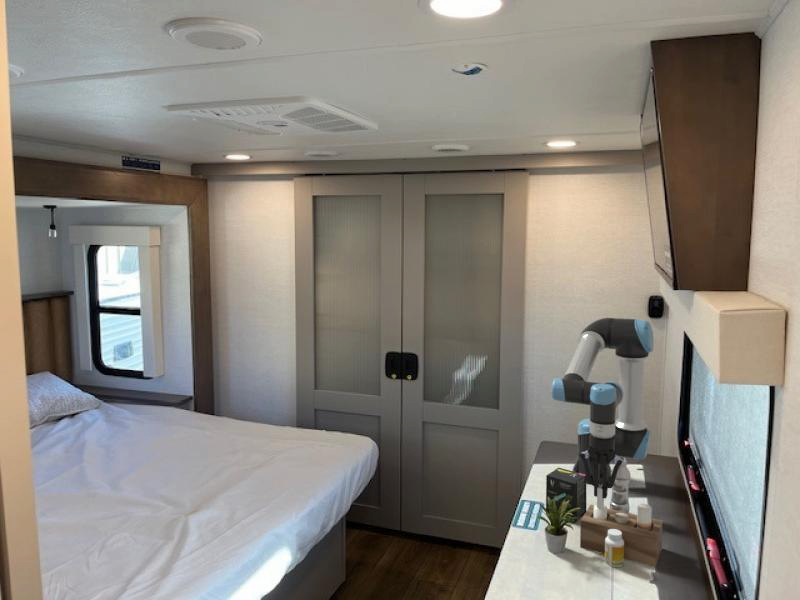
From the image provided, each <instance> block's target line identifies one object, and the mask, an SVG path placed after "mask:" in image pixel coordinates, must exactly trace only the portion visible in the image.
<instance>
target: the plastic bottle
mask: <svg viewBox="0 0 800 600" xmlns="http://www.w3.org/2000/svg"><path fill="white" fill-rule="evenodd" d="M618 457H619V456H618ZM619 458H623V460H624V461H623V462H622V464H621V465H620V466H619V470H618V473H617V476H616V479H615V483H614V485H613V487H612V488H611V491H612V492H611V498H610V502H609V509H612V510H617V511H621V512H626V513H630V508H631V507H630V502H629V487H630V481H631V475H632V474H631V472H630V470H629V468H628V467H627V466H628V462H627V460H628V458H624V457H619ZM613 469H614V467H613V468H611V470H612V471H611V475H612V472H613Z"/></svg>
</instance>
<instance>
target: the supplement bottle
mask: <svg viewBox="0 0 800 600" xmlns="http://www.w3.org/2000/svg"><path fill="white" fill-rule="evenodd" d="M624 561H625V559H624V540H623V539H622V532H621V531H620V530H617V529H609V530H608V536H607V537H606V538H605V554H604V562H605V564H606V565H607V566H609V567H613V568H619V567H622V566H623V565H624Z"/></svg>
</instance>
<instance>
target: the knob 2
mask: <svg viewBox="0 0 800 600" xmlns="http://www.w3.org/2000/svg"><path fill="white" fill-rule="evenodd" d="M636 507H637V509H636V510H637V511H636V515H637V528H639V529H644V530H648V531H651V518H652V510H653V508H652V506H651V505H649V504H647V503H646V504H645V503H639V504H637V506H636Z"/></svg>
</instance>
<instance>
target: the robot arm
mask: <svg viewBox="0 0 800 600" xmlns="http://www.w3.org/2000/svg"><path fill="white" fill-rule="evenodd" d="M577 339H578V340H577V343H578V346H577V347H576V349H575V352H574V354H573V356H572V358H571V360H570V363H569V365H568V367H567V369H566V371H565V373H564V376H563V377H562V378H561V377H560V378H558V377H557V378H554V379H553V381H552V383H551V390H550V391H551V393H550V394H551V397H552V399H553V400H555V401H558V402H563V403H569V404H577V405H578V404H579V405H585V406H589V418H585V419H582V420H581V421H579V423H578V427H577V428H578V429H577V457H576V459H575V461H574V465H573V468H572V471H573V472H577V473H581V474H584V475H586V476H587V477H586V484H587V485H588V484H589V485H591V486H593V496H594V497H596V505H597V508H599V509H602V508H603V506H605V499H607V497H608V489H612V487H613V485H614V483H615V479H616V476H617V473H618V470H619V466H620V465H621V464H622V462H623V461H624V460H623V458H625V459H631V460H637V461H638V460H639V461H643V460H645V459H646V457H647V455H648V452H649V448H650V442H651V438H652V437H651V436H652V431H651V430H650V429H648V425H647V423H646V422H645V421H644V419H643V418H644V417H643V415H644V378H645V377H644V374H645V370H644V369H645V360H646V359H648V358H649V353H652V352H653V351H654V331H653V328H652V324H651V322H649V321H648V320H645V319H637V318H636V319H635V318H617V317H615V318H614V317H605V318H604V317H603V318H600V319H597V320H594V321H593V322H592V323H590V324H588V325H587V326H586V327H585V328H583V330H582V331H581V333H580V335H579V336H578V338H577ZM604 349H610V350H615V357H617V358H618V359H619V363H618V364H619V367H618V368H619V369H618V370H619V372H618V373H619V375H618V382H616V381H607V382H604V383H602V382H593V381H592V382H591V381H588V380H589V377H590V376H591V375H590V374H591V372H592V370H593V367H594V365H595V363H596V360H597V358H598V355H599V353H601V352H602V351H603V350H604ZM617 407H618V418H617V419H616V409H617ZM619 457H622V458H619ZM613 460H614V467H613V468H614V469H613V468H612V467H611V465H610V463H611V462H612V461H613ZM612 469H613V472H612V475H611V471H612Z"/></svg>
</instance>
